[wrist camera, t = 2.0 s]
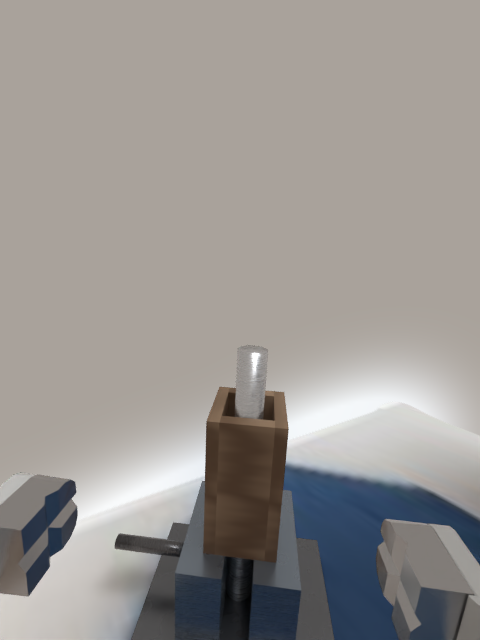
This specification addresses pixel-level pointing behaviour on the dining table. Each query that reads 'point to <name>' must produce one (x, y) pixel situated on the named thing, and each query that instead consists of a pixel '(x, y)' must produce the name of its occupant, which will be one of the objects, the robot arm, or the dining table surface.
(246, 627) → the vise
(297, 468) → the dining table surface
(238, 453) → the walnut sleeve
